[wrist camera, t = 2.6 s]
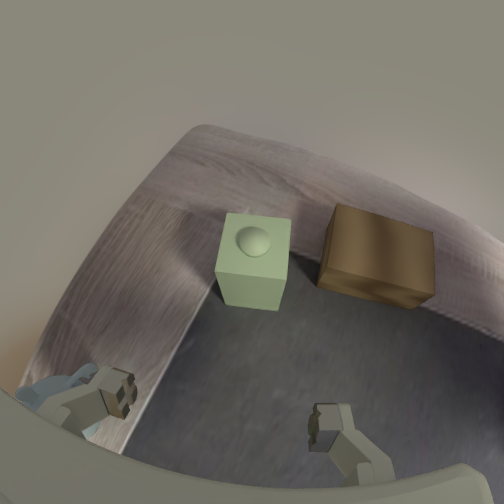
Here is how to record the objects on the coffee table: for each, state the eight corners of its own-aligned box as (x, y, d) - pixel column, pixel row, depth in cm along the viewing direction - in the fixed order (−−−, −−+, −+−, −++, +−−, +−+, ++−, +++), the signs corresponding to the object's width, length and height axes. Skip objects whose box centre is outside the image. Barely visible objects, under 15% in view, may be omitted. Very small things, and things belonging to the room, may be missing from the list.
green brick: (282, 263, 28) (292, 215, 21) (277, 311, 26) (287, 276, 19) (233, 258, 29) (226, 208, 21) (225, 304, 27) (213, 268, 19)
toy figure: (95, 351, 24) (16, 319, 13) (140, 386, 23) (65, 377, 12) (57, 424, 20) (-24, 421, 9) (97, 462, 18) (20, 482, 8)
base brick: (412, 254, 29) (432, 232, 25) (410, 310, 26) (434, 294, 22) (326, 230, 30) (337, 203, 26) (315, 287, 27) (326, 267, 23)
